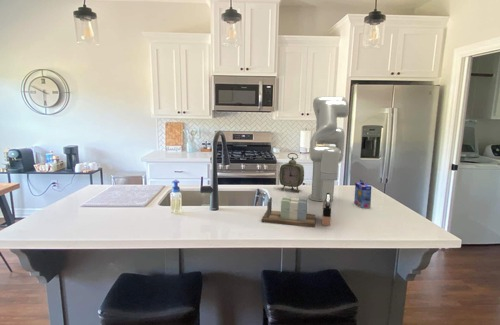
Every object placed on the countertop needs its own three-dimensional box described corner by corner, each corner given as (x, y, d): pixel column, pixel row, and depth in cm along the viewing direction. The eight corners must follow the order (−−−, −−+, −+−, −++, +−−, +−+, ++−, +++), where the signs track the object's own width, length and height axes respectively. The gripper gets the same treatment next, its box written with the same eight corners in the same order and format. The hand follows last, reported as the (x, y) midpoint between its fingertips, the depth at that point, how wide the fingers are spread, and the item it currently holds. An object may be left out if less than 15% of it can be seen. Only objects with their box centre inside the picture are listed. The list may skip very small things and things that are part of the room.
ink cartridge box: (353, 202, 169) (355, 178, 167) (362, 202, 170) (364, 178, 167) (360, 208, 160) (362, 182, 157) (370, 208, 160) (372, 182, 158)
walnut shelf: (266, 213, 149) (267, 193, 147) (315, 217, 144) (316, 197, 142) (261, 221, 136) (262, 201, 135) (314, 227, 131) (315, 205, 130)
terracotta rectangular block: (322, 219, 141) (323, 195, 139) (329, 220, 140) (331, 195, 138) (322, 224, 134) (323, 199, 132) (330, 225, 133) (331, 200, 132)
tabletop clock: (278, 190, 194) (280, 152, 190) (283, 187, 202) (285, 151, 198) (299, 193, 188) (301, 154, 184) (304, 190, 195) (306, 152, 191)
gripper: (320, 172, 143) (318, 207, 146) (320, 179, 126) (318, 219, 129) (336, 173, 141) (334, 208, 144) (338, 180, 125) (336, 220, 127)
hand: (326, 213), depth 137 cm, fingers closed on terracotta rectangular block, 7 cm apart
